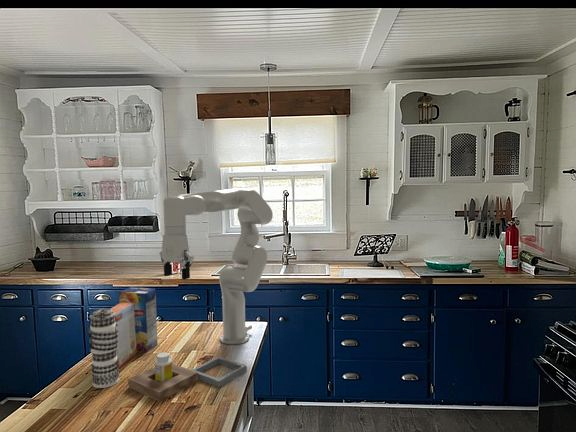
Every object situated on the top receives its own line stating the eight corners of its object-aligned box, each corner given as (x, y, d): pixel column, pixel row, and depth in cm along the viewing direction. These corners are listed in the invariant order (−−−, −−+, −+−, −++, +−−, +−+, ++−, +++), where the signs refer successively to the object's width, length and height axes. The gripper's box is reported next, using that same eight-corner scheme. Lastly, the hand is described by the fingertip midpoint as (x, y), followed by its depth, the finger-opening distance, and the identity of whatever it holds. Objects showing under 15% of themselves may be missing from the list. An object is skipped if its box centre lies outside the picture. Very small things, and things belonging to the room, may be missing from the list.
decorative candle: (92, 378, 146) (88, 308, 144) (120, 373, 150) (117, 305, 147) (90, 390, 138) (85, 316, 136) (120, 385, 141) (116, 313, 139)
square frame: (218, 361, 159) (218, 356, 158) (246, 371, 151) (246, 365, 150) (190, 376, 147) (190, 370, 147) (219, 387, 139) (219, 381, 139)
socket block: (167, 369, 153) (167, 361, 152) (198, 381, 144) (197, 372, 143) (128, 387, 140) (128, 378, 139) (159, 401, 130) (159, 392, 130)
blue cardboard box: (121, 349, 171) (118, 292, 169) (132, 342, 178) (129, 287, 176) (147, 352, 168) (145, 293, 166) (157, 344, 175) (155, 288, 173)
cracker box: (123, 352, 168) (120, 301, 166) (137, 353, 167) (134, 302, 165) (103, 368, 154) (100, 313, 152) (118, 369, 153) (116, 313, 151)
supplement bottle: (173, 379, 145) (172, 350, 144) (171, 387, 139) (170, 357, 138) (157, 380, 144) (156, 351, 143) (153, 388, 139) (152, 358, 138)
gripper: (151, 230, 154) (153, 276, 155) (183, 233, 144) (185, 282, 145) (167, 228, 160) (169, 272, 161) (199, 231, 150) (201, 278, 151)
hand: (176, 277), depth 153 cm, fingers open, 9 cm apart
